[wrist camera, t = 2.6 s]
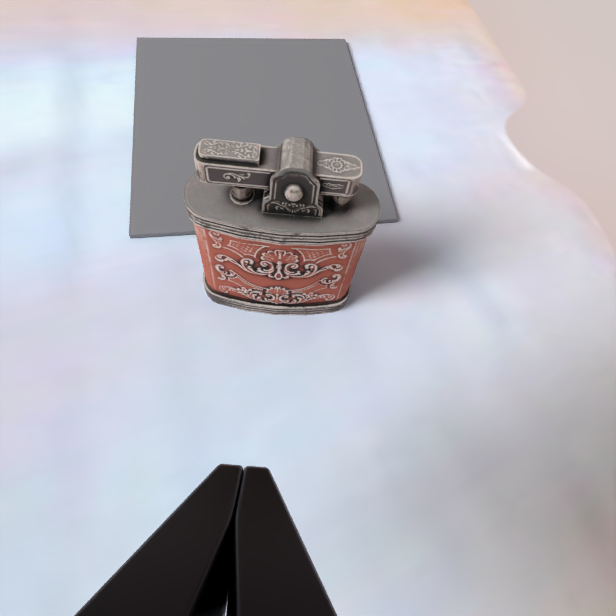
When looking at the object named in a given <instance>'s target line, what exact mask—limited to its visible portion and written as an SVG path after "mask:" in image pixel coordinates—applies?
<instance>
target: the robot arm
mask: <svg viewBox="0 0 616 616" xmlns="http://www.w3.org/2000/svg"><path fill="white" fill-rule="evenodd" d="M227 601H228V602H227ZM226 607H227V614H226V616H337V614H336V612H335V610H334V608H333V606H332V603H331V601H330V599H329V597H328V595H327V593H326V590H325V588H324V586H323V584H322V582H321V580H320V578H319V575H318V573H317V571H316V569H315V567H314V565H313V562H312V560H311V558H310V556H309V554H308V552H307V550H306V547H305V545H304V543H303V541H302V539H301V537H300V534H299V532H298V530H297V528H296V526H295V524H294V522H293V519H292V517H291V515H290V513H289V511H288V509H287V506H286V504H285V502H284V500H283V498H282V496H281V494H280V491H279V489H278V487H277V485H276V483H275V481H274V479H273V476H272V474H271V472H270V470H269V469H268V468H266V467H255V466H247V467H245V468H244V471H243V467H242V466H240V465H230V464H220V465H218V466H217V467H216V468H215V469H214V470H213V471H212V472H211V473H210V474H209V475H208V476H207V478H206V479H205V480H204V481H203V482H202V483H201V484H200V485H199V486H198V487H197V488H196V489H195V490H194V491H193V492H192V493H191V494H190V495H189V496H188V497H187V498H186V499H185V501H184V502H183V503H182V504H181V505H180V506H179V507H178V508H177V509H176V510H175V511H174V512H173V513H172V514H171V515H170V516H169V517H168V518H167V519H166V520H165V521H164V522H163V524H162V525H161V526H160V527H159V528H158V529H157V530H156V531H155V532H154V533H153V534H152V535H151V536H150V537H149V538H148V539H147V540H146V541H145V542H144V543H143V544H142V545H141V547H140V548H139V549H138V550H137V551H136V552H135V553H134V554H133V555H132V556H131V557H130V558H129V559H128V560H127V561H126V562H125V563H124V564H123V565H122V566H121V567H120V569H119V570H118V571H117V572H116V573H115V574H114V575H113V576H112V577H111V578H110V579H109V580H108V581H107V582H106V583H105V584H104V585H103V586H102V587H101V588H100V589H99V590H98V591H97V593H96V594H95V595H94V596H93V597H92V598H91V599H90V600H89V601H88V602H87V603H86V604H85V605H84V606H83V607H82V608H81V609H80V610H79V611H78V612H77V613H76V614H75V616H225V613H226Z"/></svg>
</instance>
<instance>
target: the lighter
mask: <svg viewBox="0 0 616 616" xmlns="http://www.w3.org/2000/svg"><path fill="white" fill-rule="evenodd" d="M194 162H195V167H196V173H194V174H193V175H192V176H191V177H190V178H189V179H188V180H187V182H186V185H185V187H184V192H183V199H184V203H185V207H186V211H187V213H188V216H189V218H190V219H191V220H192V221H193V222H194V227H195V231H196V236H197V240H198V245H199V249H200V254H201V258H202V263H203V267H204V273H203V282H204V287H205V290H206V293H207V295H208V297H209V298H210V299H211V300H212V301H214V302H216V303H218V304H222V305H226V306H229V307H233V308H237V309H241V310H245V311H252V312H259V313H266V314H273V315H311V314H321V313H332V312H335V311H338V310H340V309H341V308H342V307H343V306H344V305H345V303H346V301H347V299H348V297H349V294H350V289H351V283H350V282H351V279H352V277H353V274H354V271H355V268H356V266H357V263H358V260H359V258H360V255H361V252H362V250H363V247H364V244H365V242H366V239H367V237H368V236H370V235H371V234H372V232H373V230H374V229H375V227H376V224H377V221H378V219H379V216H380V209H381V207H380V203H379V199H378V198H377V196H376V194H375V193H374V191H372V190H371V189H370V188H369V187H368V186H366V185H364V184H362V183H360V179H361V176H362V171H363V165H362V161H361V160H360V159H359V158H358V157H356V156H354V155H349V154H339V153H329V152H320V151H319V150H318V149H317V148H315V146H314V144H313V143H312V142H311V141H310V140H308V139H306V138H303V137H294V136H292V137H289V138H286V139H284V140H283V141H282V143H281V144H279V145H277V146H275V147H271V146H262V145H261V144H256V143H246V142H236V141H227V140H217V139H202V140H201V141H200V142H199V143H197V144H196V147H195V149H194Z"/></svg>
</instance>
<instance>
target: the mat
mask: <svg viewBox="0 0 616 616" xmlns="http://www.w3.org/2000/svg"><path fill="white" fill-rule="evenodd" d="M292 136H294V137H303V138H306V139H308V140H310V141H311V142H312V143H313V144H314V146H315V148H317V149H318V150H319V151H320V152H329V153H339V154H349V155H354V156H356V157H358V158H359V159H360V160H361V161H362V165H363V171H362V176H361V179H360V183H362V184H364V185H366V186H368V187H369V188H370V189H371V190H372V191H374V193H375V194H376V196H377V198H378V199H379V203H380V207H381V209H380V216H379V219H378V221H377V223H387V222H397V220H398V218H397V214H396V211H395V208H394V204H393V201H392V197H391V194H390V190H389V187H388V184H387V180H386V177H385V173H384V170H383V167H382V163H381V160H380V156H379V153H378V150H377V146H376V143H375V139H374V136H373V132H372V129H371V126H370V122H369V119H368V115H367V112H366V109H365V105H364V102H363V98H362V95H361V92H360V88H359V85H358V81H357V78H356V75H355V71H354V68H353V64H352V61H351V57H350V54H349V51H348V47H347V44H346V40H345V39H256V38H137V51H136V76H135V101H134V126H133V152H132V177H131V202H130V228H129V236H130V238H140V237H156V236H173V235H189V234H196V231H195V227H194V222H193V221H192V220H191V219H190V218H189V216H188V213H187V211H186V207H185V203H184V199H183V192H184V187H185V185H186V182H187V180H188V179H189V178H190V177H191V176H192V175H193V174H194V173H196V167H195V162H194V149H195V147H196V144H197V143H199V142H200V141H201V140H202V139H217V140H227V141H236V142H246V143H256V144H261V145H262V146H271V147H275V146H277V145H279V144H281V143H282V141H283V140H284V139H286V138H289V137H292Z"/></svg>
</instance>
